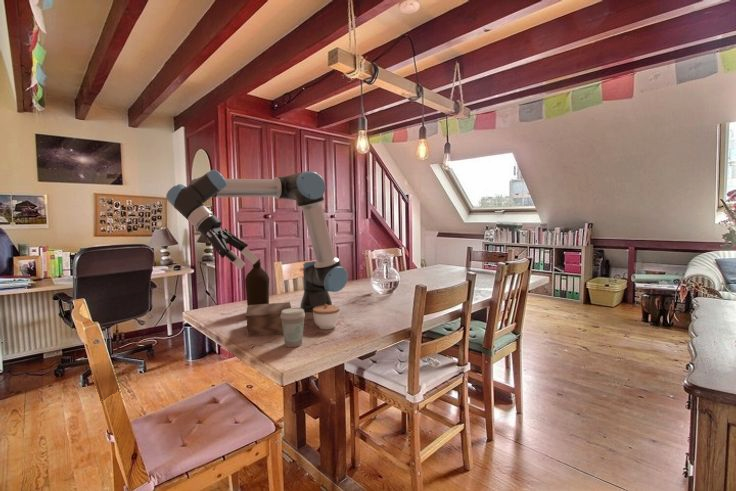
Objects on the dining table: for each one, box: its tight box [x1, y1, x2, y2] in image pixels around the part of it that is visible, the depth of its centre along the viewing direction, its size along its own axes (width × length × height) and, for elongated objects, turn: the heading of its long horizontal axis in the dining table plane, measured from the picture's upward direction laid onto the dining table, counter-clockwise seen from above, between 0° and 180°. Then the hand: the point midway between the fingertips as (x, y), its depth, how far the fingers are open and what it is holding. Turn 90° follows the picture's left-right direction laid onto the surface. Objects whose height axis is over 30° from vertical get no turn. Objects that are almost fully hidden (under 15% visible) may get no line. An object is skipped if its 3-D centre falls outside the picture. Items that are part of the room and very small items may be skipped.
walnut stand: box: [244, 301, 292, 338], centre depth 142 cm, size 17×17×8 cm
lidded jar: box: [312, 304, 341, 330], centre depth 143 cm, size 11×11×9 cm
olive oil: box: [244, 258, 270, 307], centre depth 165 cm, size 11×11×25 cm
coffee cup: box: [280, 307, 306, 348], centre depth 124 cm, size 9×8×12 cm
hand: (249, 264), depth 126 cm, fingers open, 13 cm apart
